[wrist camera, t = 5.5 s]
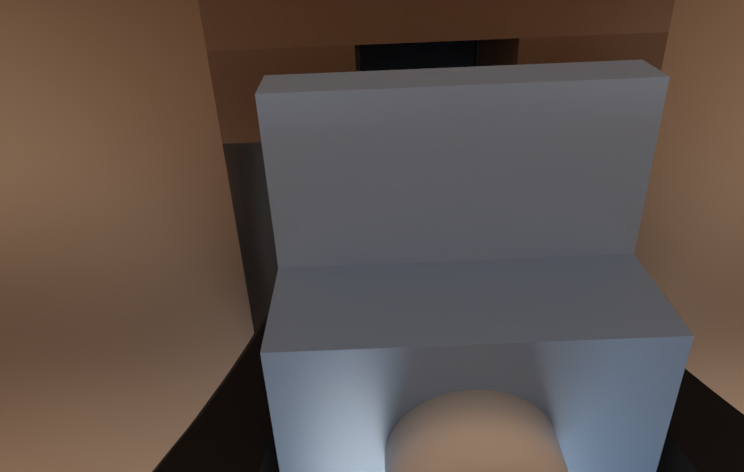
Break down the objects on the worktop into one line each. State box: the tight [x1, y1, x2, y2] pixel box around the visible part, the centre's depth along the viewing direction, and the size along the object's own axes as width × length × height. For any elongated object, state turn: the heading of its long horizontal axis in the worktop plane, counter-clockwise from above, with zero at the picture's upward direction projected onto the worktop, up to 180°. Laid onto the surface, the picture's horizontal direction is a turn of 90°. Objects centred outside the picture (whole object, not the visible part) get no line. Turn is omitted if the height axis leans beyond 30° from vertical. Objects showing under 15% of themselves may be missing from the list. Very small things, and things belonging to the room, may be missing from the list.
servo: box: [255, 59, 694, 472], centre depth 8 cm, size 9×4×6 cm, turn 2°
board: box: [0, 0, 744, 472], centre depth 11 cm, size 12×16×3 cm
